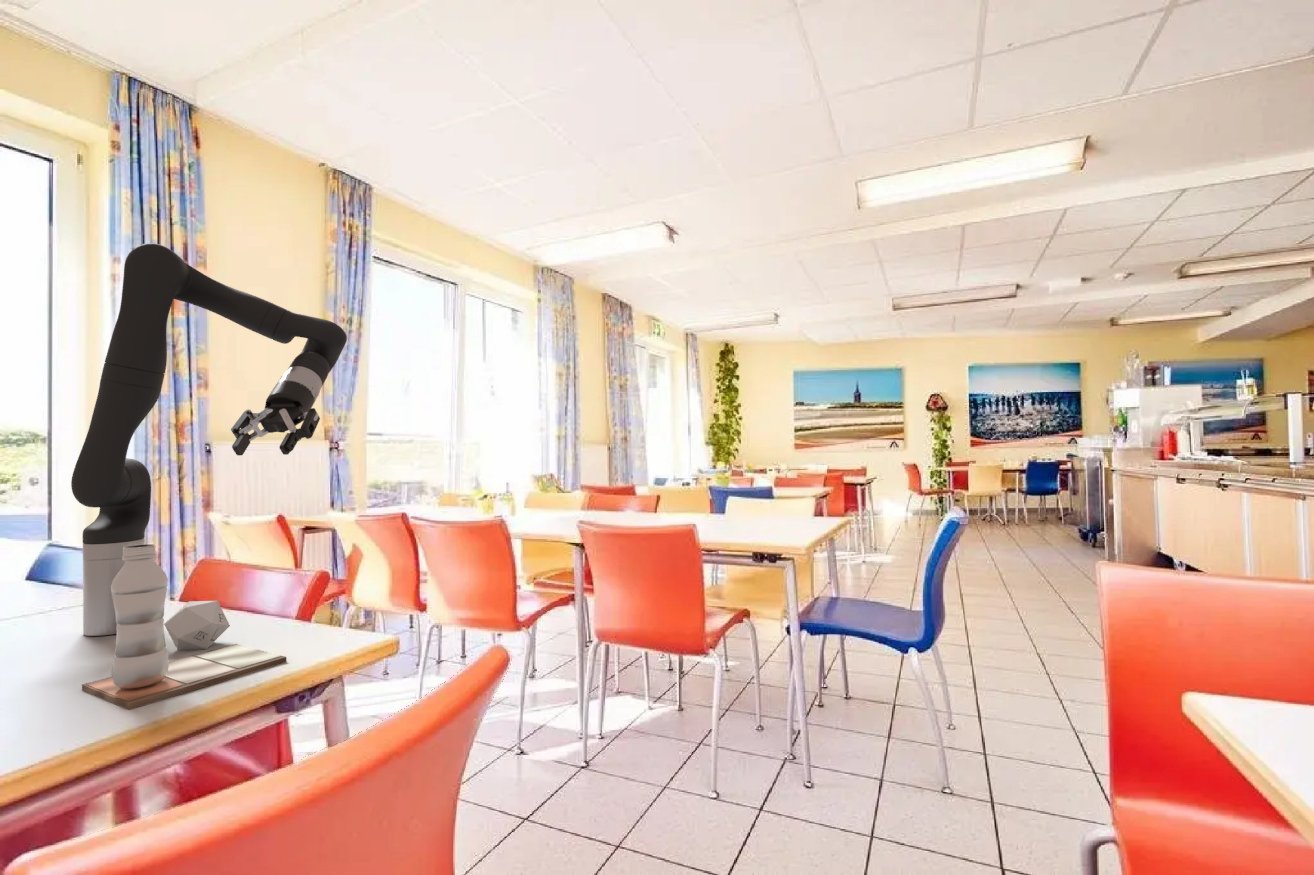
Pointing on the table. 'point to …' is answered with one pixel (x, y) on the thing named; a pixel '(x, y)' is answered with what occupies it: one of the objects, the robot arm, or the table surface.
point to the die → (197, 625)
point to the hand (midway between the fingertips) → (260, 451)
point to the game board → (188, 675)
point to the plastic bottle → (139, 619)
